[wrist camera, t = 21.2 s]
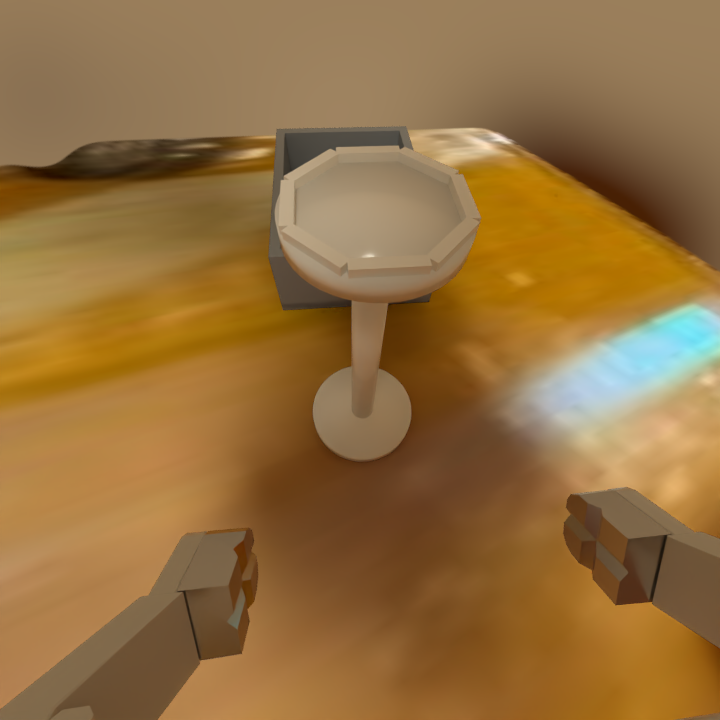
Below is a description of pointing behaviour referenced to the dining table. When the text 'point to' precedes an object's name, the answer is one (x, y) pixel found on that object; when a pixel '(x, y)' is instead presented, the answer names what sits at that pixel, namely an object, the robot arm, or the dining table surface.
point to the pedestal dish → (372, 269)
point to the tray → (290, 155)
